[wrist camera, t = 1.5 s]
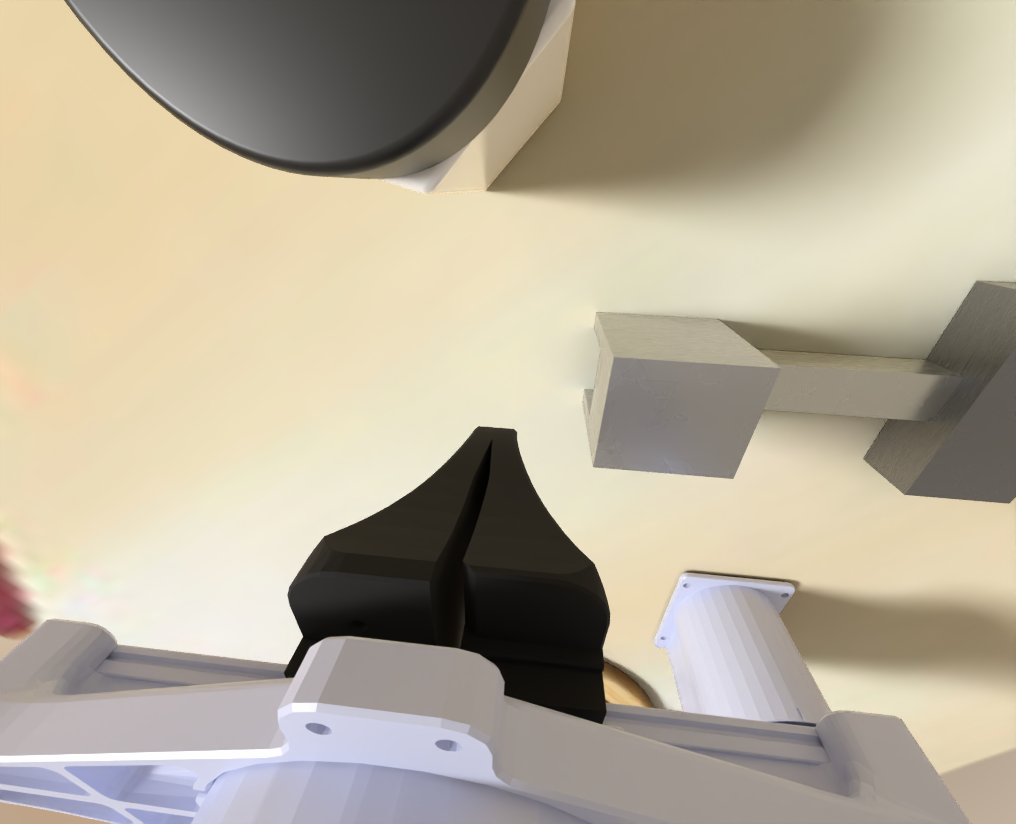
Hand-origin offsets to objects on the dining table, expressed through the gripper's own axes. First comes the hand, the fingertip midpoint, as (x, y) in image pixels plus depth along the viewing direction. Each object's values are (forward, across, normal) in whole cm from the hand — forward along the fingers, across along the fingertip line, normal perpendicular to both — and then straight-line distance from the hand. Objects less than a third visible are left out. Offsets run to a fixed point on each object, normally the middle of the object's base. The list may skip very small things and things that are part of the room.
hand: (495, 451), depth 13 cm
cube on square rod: (+9, -7, 0) cm, 11 cm away
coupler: (+9, -19, 0) cm, 21 cm away
